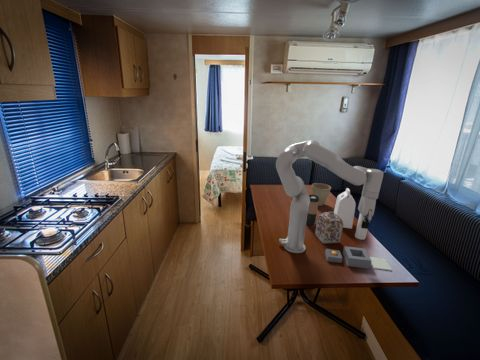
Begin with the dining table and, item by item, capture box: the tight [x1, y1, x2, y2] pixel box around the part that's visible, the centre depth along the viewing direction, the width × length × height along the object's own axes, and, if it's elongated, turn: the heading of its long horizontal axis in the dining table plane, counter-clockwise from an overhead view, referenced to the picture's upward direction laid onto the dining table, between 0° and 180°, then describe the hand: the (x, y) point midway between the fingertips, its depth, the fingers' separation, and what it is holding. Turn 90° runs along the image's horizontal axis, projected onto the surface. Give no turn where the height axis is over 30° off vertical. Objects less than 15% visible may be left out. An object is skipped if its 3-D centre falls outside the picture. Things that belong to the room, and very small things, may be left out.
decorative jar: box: [314, 211, 343, 245], centre depth 162 cm, size 12×12×18 cm
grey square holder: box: [342, 245, 372, 269], centre depth 143 cm, size 11×11×5 cm
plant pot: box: [311, 182, 332, 207], centre depth 215 cm, size 15×15×16 cm
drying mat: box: [369, 256, 393, 272], centre depth 142 cm, size 9×10×1 cm
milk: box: [333, 187, 357, 229], centre depth 182 cm, size 12×12×26 cm
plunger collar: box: [324, 248, 344, 264], centre depth 145 cm, size 8×8×3 cm
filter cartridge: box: [354, 212, 369, 241], centre depth 137 cm, size 5×5×16 cm
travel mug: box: [306, 194, 319, 226], centre depth 181 cm, size 8×8×20 cm
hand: (362, 225), depth 137 cm, fingers closed on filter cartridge, 5 cm apart
